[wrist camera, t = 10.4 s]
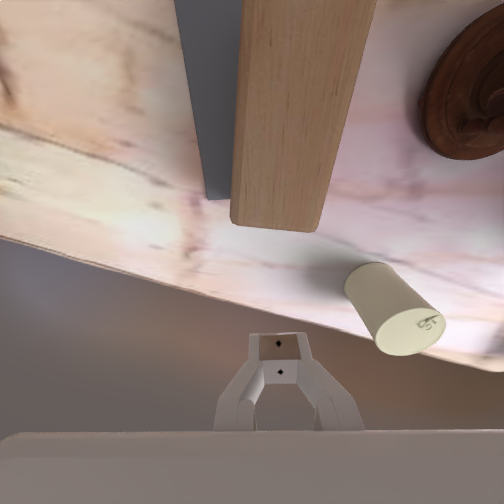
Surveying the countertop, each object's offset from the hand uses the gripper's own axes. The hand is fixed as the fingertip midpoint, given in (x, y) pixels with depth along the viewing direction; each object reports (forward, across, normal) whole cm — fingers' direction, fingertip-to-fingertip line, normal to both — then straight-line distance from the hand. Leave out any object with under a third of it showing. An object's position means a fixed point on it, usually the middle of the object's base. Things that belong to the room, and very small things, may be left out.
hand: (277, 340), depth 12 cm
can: (+25, -19, +15) cm, 34 cm away
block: (+19, -1, 0) cm, 19 cm away
